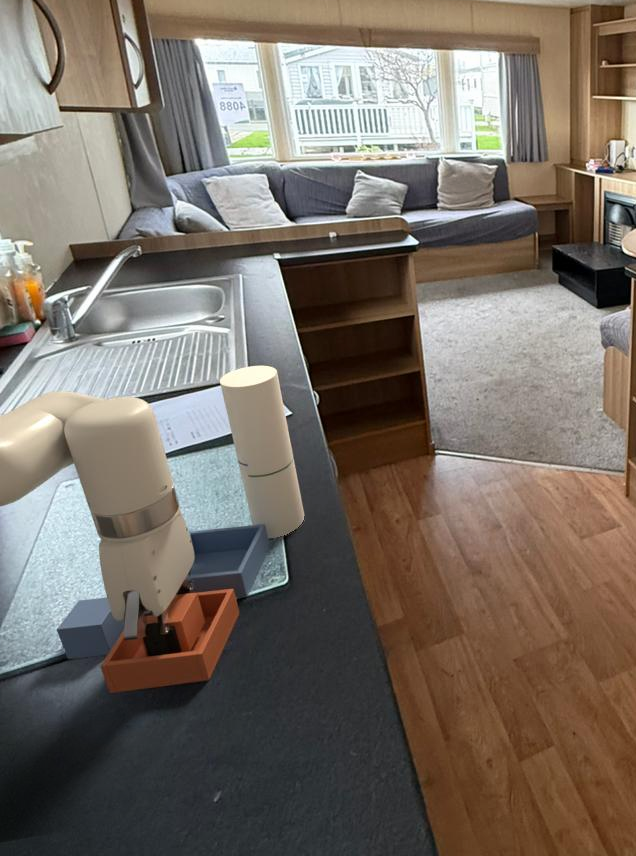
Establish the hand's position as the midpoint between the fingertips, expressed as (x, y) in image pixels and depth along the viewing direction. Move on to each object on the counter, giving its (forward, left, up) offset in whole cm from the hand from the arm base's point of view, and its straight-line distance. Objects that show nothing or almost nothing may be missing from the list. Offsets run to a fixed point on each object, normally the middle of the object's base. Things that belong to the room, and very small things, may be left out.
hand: (175, 636), depth 77 cm
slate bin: (0, +13, -2) cm, 13 cm away
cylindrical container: (+5, +24, -2) cm, 24 cm away
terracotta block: (0, 0, 0) cm, 0 cm away
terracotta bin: (0, 0, -2) cm, 2 cm away
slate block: (-10, +3, -2) cm, 11 cm away
